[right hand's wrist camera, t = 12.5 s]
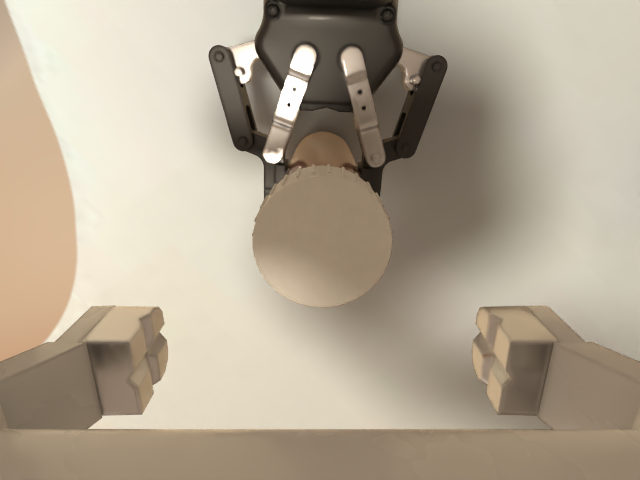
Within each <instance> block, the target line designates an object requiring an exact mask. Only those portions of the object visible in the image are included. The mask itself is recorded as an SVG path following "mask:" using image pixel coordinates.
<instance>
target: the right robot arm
mask: <svg viewBox="0 0 640 480" xmlns="http://www.w3.org/2000/svg"><path fill="white" fill-rule="evenodd" d="M163 325H164V318H163V313H162V310H161V309H160V308H159V307H145V306H92V307H91V308H90V309H89V310H88V311H87V312H85V313H84V314H83V315H82V316H81V317H80V318H79V319H78V320H77V321H76V322H75V323H74V324H73V325H72V326H71V327H70V328H69V329H68V330H67V331H66V332H65V333H64V334H63V335H62V336H60V337H59V338H58V339H57V340H56V341H55V342H47V343H45V344H42V345H40V346H37V347H35V348H32V349H30V350H28V351H25V352H23V353H20V354H18V355H16V356H13V357H11V358H8V359H6V360H3V361H1V362H0V480H640V362H639V361H636V360H634V359H632V358H629V357H627V356H624V355H622V354H620V353H617V352H615V351H612V350H610V349H608V348H605V347H603V346H600V345H598V344H595V343H593V342H585V341H584V340H583V339H582V338H581V337H580V336H579V335H577V334H576V333H575V332H574V331H573V330H572V329H571V328H570V327H569V326H568V325H567V324H566V323H565V322H564V321H563V320H562V319H561V318H560V317H559V316H558V315H557V314H556V313H555V312H554V311H553V310H552V309H551V308H549V307H547V306H544V305H542V306H500V307H481V308H479V311H478V313H477V317H476V325H477V327H478V328H479V330H480V333H479V334H478V336H477V337H476V338H475V339H474V340H473V346H472V360H473V366H474V370H475V373H476V375H477V377H478V379H479V380H480V381H482V382H483V383H485V384H486V385H488V386H487V392H486V394H487V395H488V397H489V399H490V401H491V403H492V405H493V406H494V408H495V410H496V412H497V414H498V415H534V416H538V418H539V419H540V420H542V421H543V422H544V423H546V424H547V425H548V426H550V427H551V428H552V429H88V428H89V427H91V426H92V425H93V424H94V423H96V422H97V421H98V420H100V419H101V418H102V416H106V415H141V414H143V412H144V410H145V408H146V406H147V405H148V403H149V401H150V399H151V397H152V395H153V394H154V392H153V386H152V385H154V384H155V383H157V382H158V381H160V380H161V379H162V377H163V375H164V373H165V370H166V365H167V361H168V345H167V340H166V339H165V338H164V337H163V336H162V334H161V333H160V330H161V328H162V327H163Z"/></svg>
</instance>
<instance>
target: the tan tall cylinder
mask: <svg viewBox="0 0 640 480" xmlns="http://www.w3.org/2000/svg"><path fill="white" fill-rule="evenodd" d="M312 164H315V166H319V165H322V166H327V164H330V166H334V167H339V168H342V167H345V170H347V171H350V172H352V173H354V174H355V173H357V174H358V175H359V177H360V178H361V179H362V177H361V174H360V172H359V170H358V167H357V165H356V163H355V160H354V158H353V156H352V153H351V151H350V149H349V147H348V145H347V144H346V142H345V141H344V140H343V139H342V138H341V137H339V136H338V135H336V134H334V133H330V132H323V131H321V132H315V133H312V134H310V135H308V136H306V137H305V138H304V139H303V140H302V141H301V142H300V143H299V144H298V146H297V148H296V150H295V152H294V154H293V157H292V159H291V161H290V164H289V166H288V168H287V171H286V173H285V175H286V174H287V175H290V174H291V173H293V172H295V171H297V170H298V168H301V169H303V168H307V167H311V166H312ZM285 175H284V176H285ZM283 179H284V178H283ZM362 180H363V179H362Z"/></svg>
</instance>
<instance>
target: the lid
mask: <svg viewBox="0 0 640 480" xmlns="http://www.w3.org/2000/svg"><path fill="white" fill-rule="evenodd" d="M260 208H261V209H260V211H259V212H258V214H257V216H256V218H255V222H256V223H255V227H254V231H253V234H252V236H253V251H254V257H255V260H256V263H257V266H258V268H259V270H260V272H261V273H262V275H263V277H264V278H265V280H266V281H267V282H268V283H269V284H270V285H271V286H272V287H273V288H274V289H275V290H276V291H277V292H278V293H280V294H281V295H283V296H284V297H286V298H288V299H290V300H292V301H294V302H297V303H299V304H303V305H307V306H313V307H333V306H338V305H342V304H345V303H348V302H351V301H353V300H355V299H357V298H359V297H361V296H362V295H364V294H365V293H366V292H368V291H369V290H370V289H371V288H372V287H373V286H374V285H375V284H376V283H377V282H378V281H379V279H380V278H381V277H382V275H383V273H384V271H385V270H386V268H387V265H388V263H389V260H390V256H391V251H392V230H391V227H390V224H389V221H388V219H390V218H389V216H388V214H387V212H386V210H385V208H384V206H383V203H382V201H381V199H380V197H379V195H378V193H377V192H376V193H374V191H373V190H372V188H371V186H370V184H369V182H368V181H367V182H365V181H364V180H362V179H361V178H360V177H359V175H358V174H357V173H355V174H354V173H352V172H350V171H347V170H345V167H342V168H339V167H334V166H330V164H327V166H322V165H319V166H315V164H312V166H311V167H307V168H303V169H301V168H298V170H297V171H295V172H293V173H291V174H290V175H287V174H286V175H285V176H284V179H282V180H281V181H280V182H279V183H278V184H276V183H275V184H274V186H273V188H272V190H271V192H270V194H269V195H266V197H265V199H264V201H263V203H262V205H261V207H260Z"/></svg>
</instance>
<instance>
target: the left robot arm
mask: <svg viewBox="0 0 640 480" xmlns="http://www.w3.org/2000/svg"><path fill="white" fill-rule="evenodd" d="M397 7H398V0H264V14H263V20H262V23H261V26H260V28H259V30H258V32H257V34H256V37H255V41H252V42H248V43H244V44H240V45H236V46H232V47H224V46H221V45H216V46H214V47H212V48H211V50H210V51H209V61H210V64H211V68H212V71H213V75H214V78H215V81H216V85H217V88H218V92H219V95H220V99H221V102H222V106H223V109H224V113H225V116H226V120H227V123H228V126H229V130H230V133H231V137H232V140H233V144H234V146H235V147H236V148H237V149H238V150H240V151H247V152H249V153H252V154H254V155H256V156H258V157H259V158H260V159H261V160H262V162H263V164H264V199H265V197H266V195H269V194H270V192H271V190H272V188H273V186H274V184H275V183H276V184H278V183H279V182H280V181H281V180H282V179H283V178H284V175H285V173H286V171H287V168H288V159H285V151H286V148H287V145H288V143H289V140H290V137H291V134H292V131H293V128H294V126H295V123H296V121H297V118H298V115H299V112H300V110H311V111H313V110H317V109H322V108H330V109H333V110H336V111H339V112H351V113H352V117H353V121H354V124H355V128H356V131H357V135H358V139H359V142H360V146H361V150H362V161H361V163H359V162H358V170H359V172H360V174H361V177H362V179H363V180H364V181H365V182H367V181H368V182H369V184H370V186H371V188H372V190H373V191H374V193H376V192H377V193H378V195H379V197H380V191H381V179H382V170H383V168H384V166H385V165H386V164H387V163H388V162H390V161H393V160H396V159H399V158H410V157H411V156H413V155H414V153H415V151H416V149H417V146H418V143H419V141H420V138H421V135H422V133H423V130H424V128H425V125H426V122H427V120H428V117H429V115H430V112H431V109H432V107H433V104H434V102H435V99H436V96H437V94H438V91H439V89H440V86H441V83H442V81H443V78H444V75H445V73H446V70H447V61H446V59H445V58H444V57H442V56H440V55H436V56H427V55H424V54H421V53H419V52H416V51H413V50H410V49H407V48H404V47H403V43H402V39H401V37H400V35H399V32H398V28H397ZM258 59H260V60H261V62H262V63H263V65H264V66H265V68H266V69H267V71H268V72H269V74H270V75H271V77H272V78H273V80H274V81H275V83H276V84H277V86H278V88H279V89H280V91H281V92H282V93H281V96H280V99H279V102H278V105H277V108H276V111H275V114H274V117H273V122H272V125H271V128H270V131H269V134H268V135H266V134H263V133H261V132H259V131H257V128H256V124H255V120H254V116H253V113H252V109H251V105H250V101H249V98H248V94H247V90H246V86H245V83H248V82H249V81H251V79H252V77H253V65H254V63H255V62H256V61H257V60H258ZM396 65H398V66H399V67H400V68H401V70H402V85H403V87H404V88H405V89H406V90H409V91H408V94H407V97H406V100H405V102H404V105H403V108H402V111H401V113H400V116H399V119H398V122H397V125H396V127H395V130H394V133H393V136H392V137H390V138H386V139H383V140H382V139H381V135H380V131H379V124H378V119H377V115H376V111H375V106H374V102H373V98H372V95H373V94H374V93H375V92H376V90H377V89H378V88H379V86H380V85H381V84H382V83H383V81H384V80H385V79H386V78H387V76H388V75H389V74H390V72H391V71H392V70H393V69H394V67H395V66H396Z"/></svg>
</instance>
